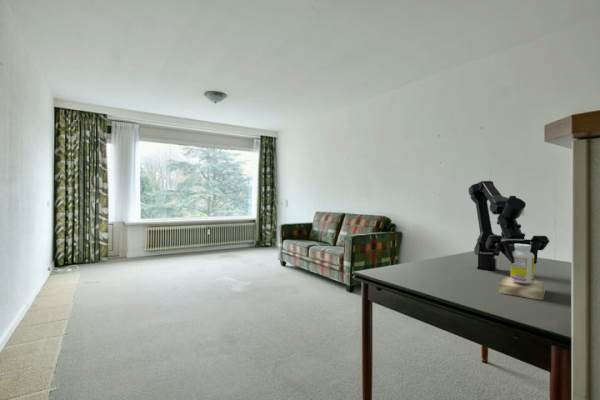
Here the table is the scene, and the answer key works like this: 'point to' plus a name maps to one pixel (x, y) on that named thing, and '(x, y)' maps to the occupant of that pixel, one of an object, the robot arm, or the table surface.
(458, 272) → the table surface
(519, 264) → the supplement bottle
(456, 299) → the table surface
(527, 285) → the oak board
